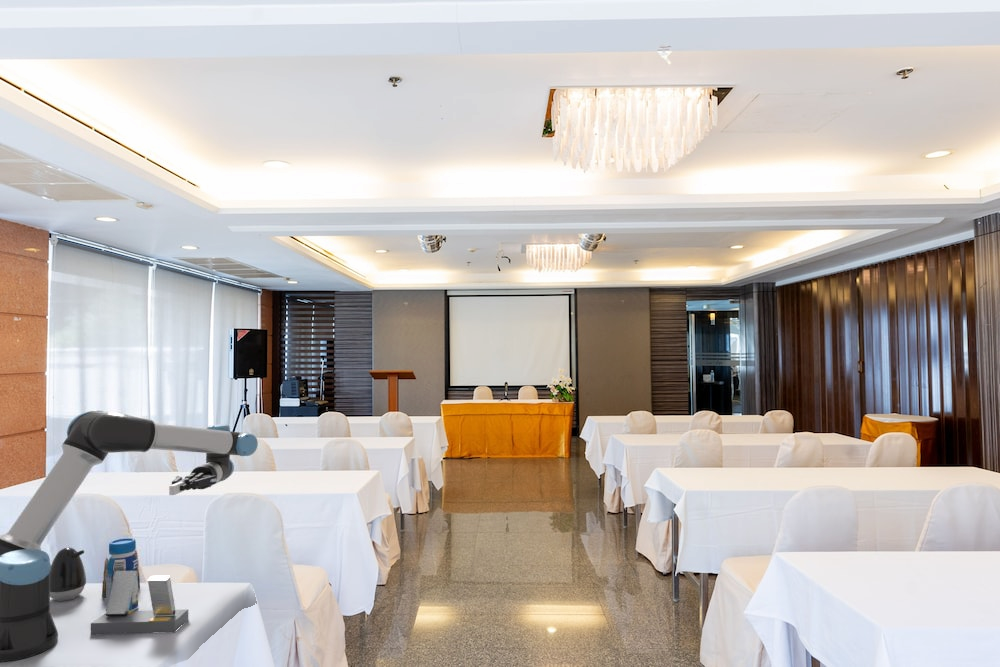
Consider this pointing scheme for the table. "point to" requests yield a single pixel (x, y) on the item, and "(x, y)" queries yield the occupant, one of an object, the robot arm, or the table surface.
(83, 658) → the table surface
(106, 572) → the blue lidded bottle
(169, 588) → the right lever
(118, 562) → the beverage bottle
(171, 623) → the switch base
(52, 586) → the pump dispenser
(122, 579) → the left lever
